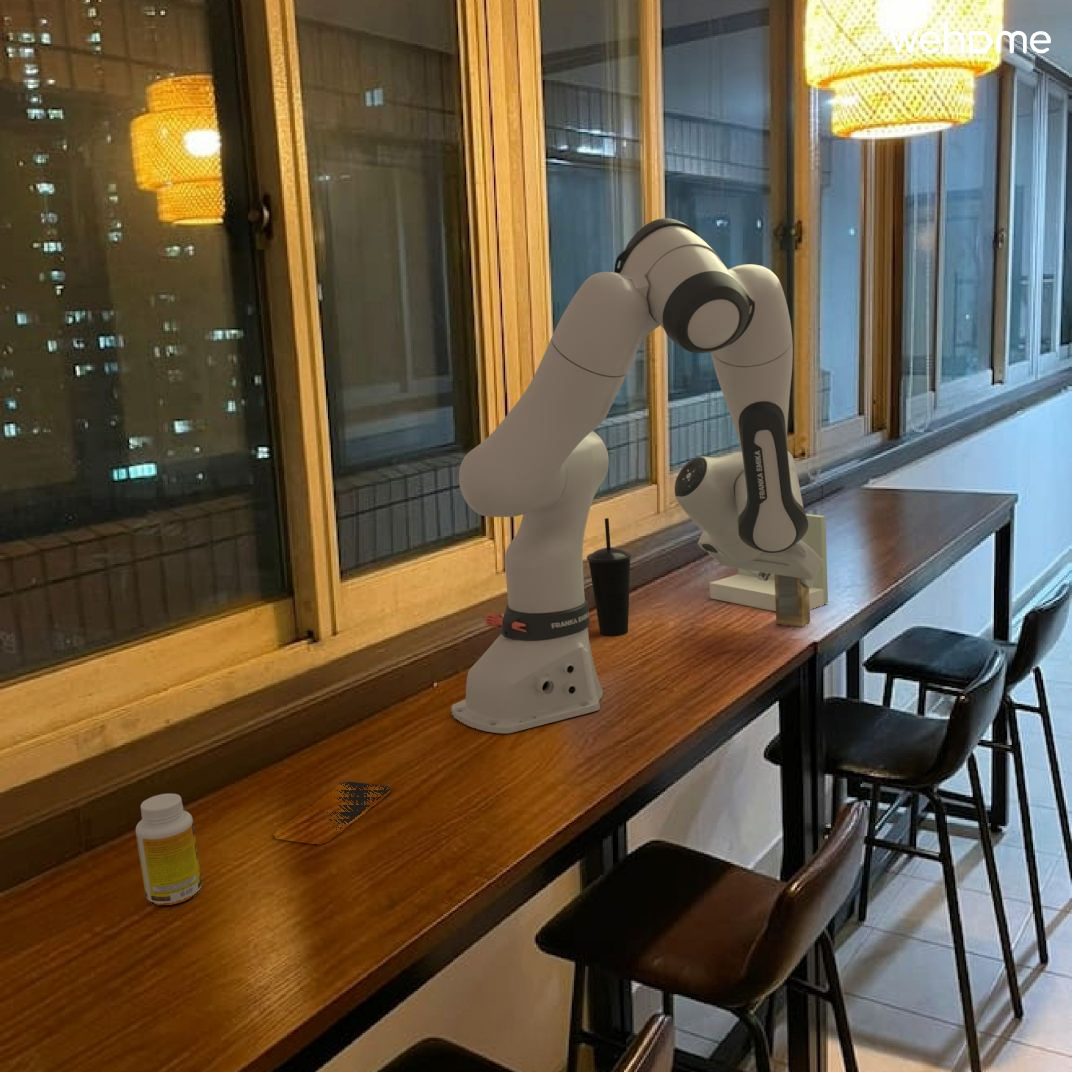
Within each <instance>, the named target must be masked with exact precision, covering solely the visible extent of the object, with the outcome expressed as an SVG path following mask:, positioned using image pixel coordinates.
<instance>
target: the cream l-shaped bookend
mask: <svg viewBox="0 0 1072 1072" xmlns="http://www.w3.org/2000/svg"><path fill="white" fill-rule="evenodd" d="M806 516H807V520H808V530H807V532H806V534H805V535H804V536H803V537H802V539H801V541H803V542H804V543H805V544H806V545H808V546H809V547H810V548H811V549H812V550H813V551H814V552H815V553H816V554H817V555H818V556H819V557H820V558H821V559H822V561H823V563H822V566H821V569H820V571H819V573H818V574H817V576H816V578H815V583H814V584H813V586H812V588H809V602H810V611H811V609H812V610H814V609H817V608H819V607H818V606H820V607H823V606H825V605H824V604H826V603H828V604H829V597H828V596H829V593H828V592H829V590H828V589H829V588H828V560H827V559H828V558H827V557H828V556H827V555H828V554H827V530H826V529H827V528H826V527H827V526H826V525H827V523H826V522H827V521H826V515H819V514H810V513H806ZM737 571H738V572H737V574H735V575H731V576H727V577H724V578H721V579H718V580H714V581H710V582H709V583H708V584H709V598H710V599H712V600H718V601H723V602H727V603H728V602H729V603H732V604H738V605H742V606H746V607H752V608H756V609H761V610H762V609H763V610H767V611H771V612H776V602H775V577H774V574H771V575H770V577H768V578H769V579H768V580H767V581H765V580H759V579H758V578H757V577H756V576H755V575H753V574H751V573H750V572H748V571H746V570H744V569H739V568H737ZM822 605H823V606H822ZM826 605H827V604H826ZM816 607H817V608H816ZM813 608H814V609H813Z"/></svg>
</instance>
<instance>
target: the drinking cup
mask: <svg viewBox="0 0 1072 1072" xmlns="http://www.w3.org/2000/svg"><path fill="white" fill-rule="evenodd" d="M604 526H605V527H604V528H605V530H604V531H605V542H606V543H605V545H606V547H603V548H599V549H596V550H595V551H593V552H591V553H589V554H588V555H587V556H586V560H587V562H588V565H589V571H590V576H591V577H590V578H591V583H592V584H591V586H592V589H593V590H592V591H593V595H594V596H593V597H594V602H595V610H596V614H597V616H596V617H597V621H598V627H599V628H598V629H599V634H600V635H603V636H606V637H616V636H623V635H625V634H627V633H628V631H629V611H630V609H629V607H630V605H629V604H630V580H631V579H630V578H631V575H630V574H631V558H632V552H630V551H627V550H625V549H623V548H619V547H613V546H611V534H610V532H611V531H610V519H609V517H605V518H604Z"/></svg>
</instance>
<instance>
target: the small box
mask: <svg viewBox="0 0 1072 1072" xmlns="http://www.w3.org/2000/svg"><path fill="white" fill-rule="evenodd" d="M774 577H775V602H776V611H775V620H776V621H775V622H776V623H775V624H776V625H777V624H781V625H780V626H786V625H790V626H789V627H795V626H797V627H796V628H804V627H806V626H807V625H809V624H810V623H811V612H810V611H811V610H810V602H809V588H807V587H803V586H802V585H801V584H800V583H799V581H800V579H801V578H796V577H789V576H783V575H777V574H774ZM809 622H810V623H809ZM808 623H809V624H808ZM806 624H807V625H806ZM805 625H806V626H805Z"/></svg>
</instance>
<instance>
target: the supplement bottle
mask: <svg viewBox="0 0 1072 1072" xmlns="http://www.w3.org/2000/svg"><path fill="white" fill-rule="evenodd" d="M182 801H183V800H182V796H181V795H180V794H177V793H162V794H157V795H153V796H151V797H148V798H147V799H145V800H143V801H142V802H141V804H140V812H141V820H140V821H139V822H138V823H137V824H136V826H135V838H136V842H137V850H138V855H139V861H140V869H141V875H142V881H143V887H144V892H145V898H146V900H147V899H148V900H149V901H151V902H154V903H159V904H160V903H161V904H163V903H172V902H176V901H178V900H183V899H184V898H187V897H189V896H192V895H194V894H195V893H196V892H197V891H199V890H200V891H201V889H202V887H203V886H202V885H203V880H202V873H201V867H200V859H199V853H198V847H197V845H198V844H197V840H196V833H195V832H196V831H195V825H194V820H193V816H192V814H191V813H189V812H188V811H186V810H184V805H183V802H182ZM201 886H202V887H201ZM200 888H201V889H200ZM200 891H199V892H200ZM148 900H147V901H148ZM149 901H148V902H149Z"/></svg>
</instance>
